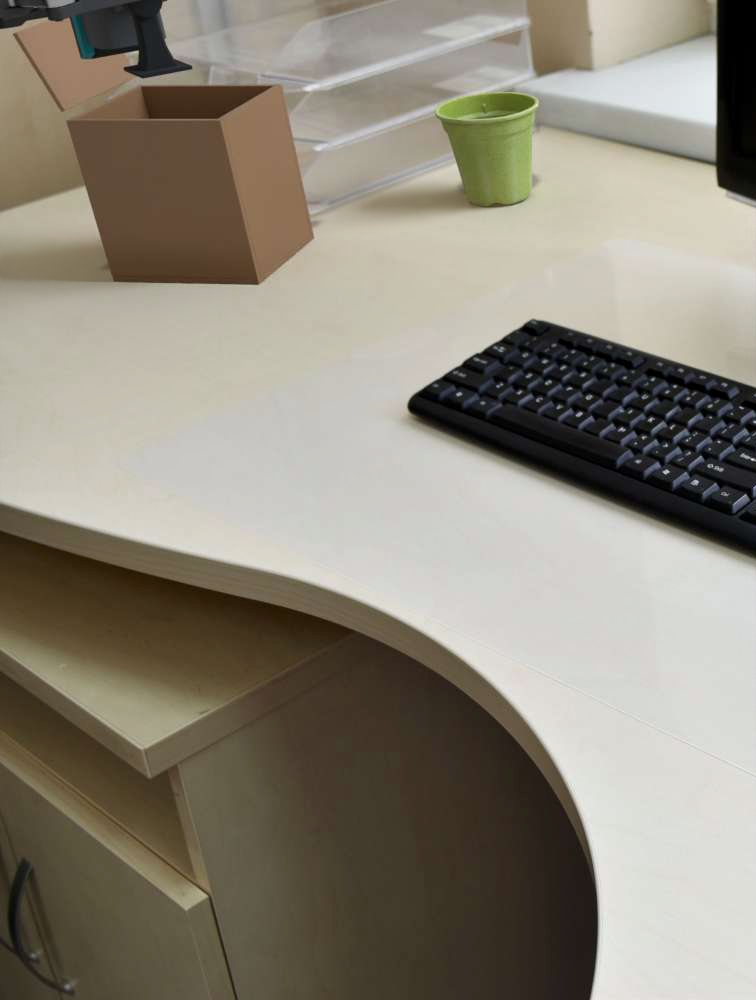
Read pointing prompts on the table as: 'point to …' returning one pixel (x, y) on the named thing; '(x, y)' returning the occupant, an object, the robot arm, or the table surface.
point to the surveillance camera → (127, 37)
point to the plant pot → (492, 144)
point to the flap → (69, 64)
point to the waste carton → (193, 182)
